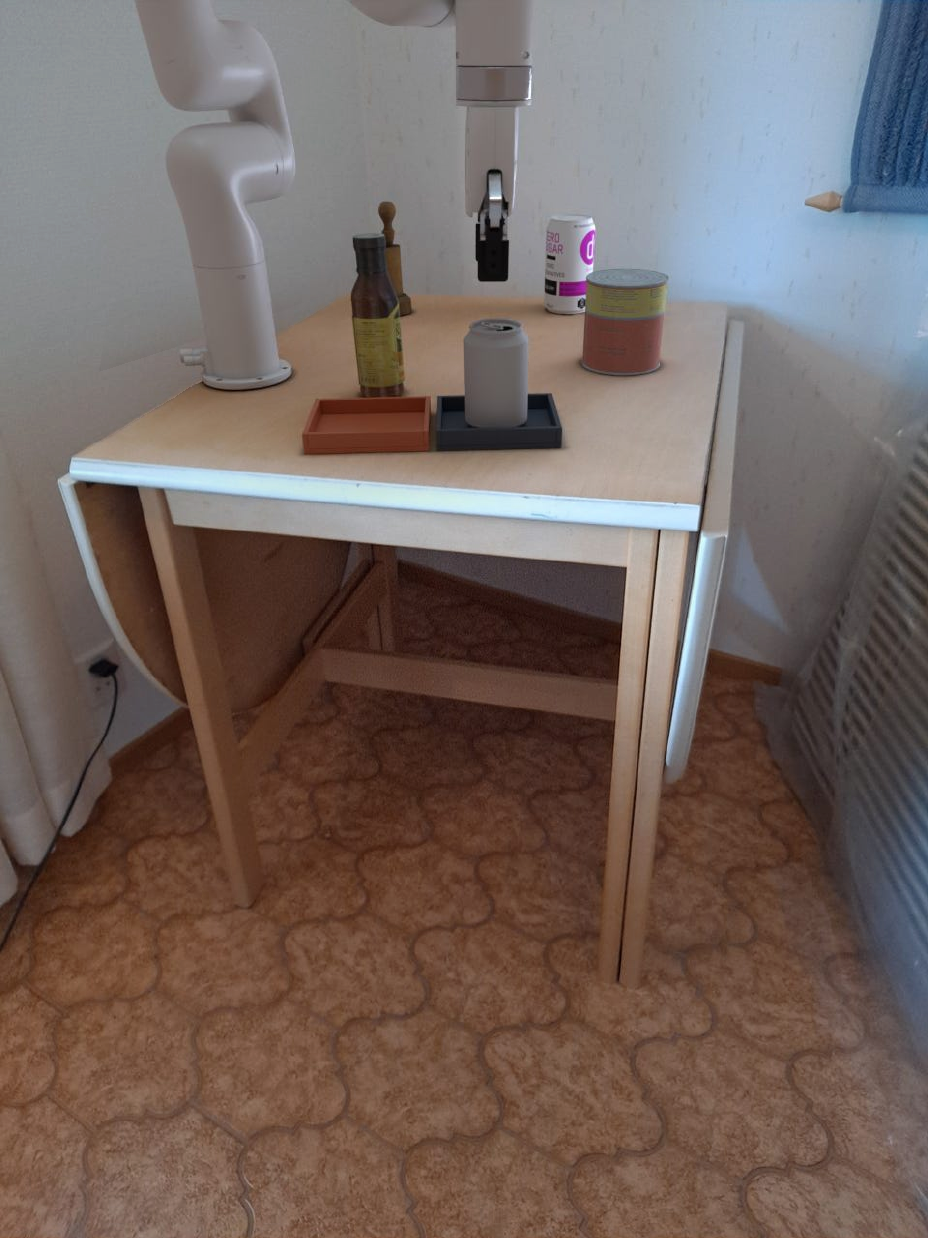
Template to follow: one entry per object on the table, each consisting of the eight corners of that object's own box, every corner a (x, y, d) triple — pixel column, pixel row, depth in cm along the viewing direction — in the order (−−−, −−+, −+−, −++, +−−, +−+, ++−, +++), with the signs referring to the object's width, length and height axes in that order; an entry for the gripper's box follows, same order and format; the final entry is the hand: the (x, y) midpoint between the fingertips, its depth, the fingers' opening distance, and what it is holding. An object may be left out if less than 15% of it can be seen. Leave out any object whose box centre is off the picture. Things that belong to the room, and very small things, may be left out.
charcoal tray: (436, 450, 99) (435, 430, 98) (437, 414, 109) (436, 395, 108) (561, 447, 99) (562, 427, 98) (551, 411, 109) (551, 392, 108)
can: (522, 438, 100) (524, 332, 94) (459, 434, 102) (456, 330, 95) (531, 415, 106) (533, 315, 100) (471, 412, 108) (470, 313, 101)
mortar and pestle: (371, 309, 156) (363, 200, 146) (406, 306, 158) (400, 197, 148) (379, 318, 151) (371, 205, 141) (415, 314, 152) (410, 202, 143)
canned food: (675, 362, 126) (685, 275, 119) (628, 380, 119) (636, 289, 113) (613, 348, 132) (619, 265, 126) (565, 364, 126) (569, 277, 119)
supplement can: (597, 306, 154) (603, 215, 146) (577, 317, 149) (582, 222, 141) (557, 301, 158) (560, 212, 150) (536, 311, 152) (538, 219, 144)
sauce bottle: (411, 397, 115) (402, 236, 104) (366, 404, 113) (352, 241, 102) (396, 383, 120) (386, 229, 109) (353, 390, 118) (338, 233, 107)
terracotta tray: (304, 453, 99) (301, 434, 98) (318, 417, 110) (315, 398, 108) (429, 450, 99) (428, 430, 98) (431, 414, 109) (430, 395, 108)
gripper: (455, 84, 93) (456, 254, 102) (456, 92, 78) (457, 289, 88) (525, 84, 93) (519, 254, 102) (539, 92, 78) (531, 289, 88)
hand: (490, 270), depth 95 cm, fingers open, 9 cm apart
